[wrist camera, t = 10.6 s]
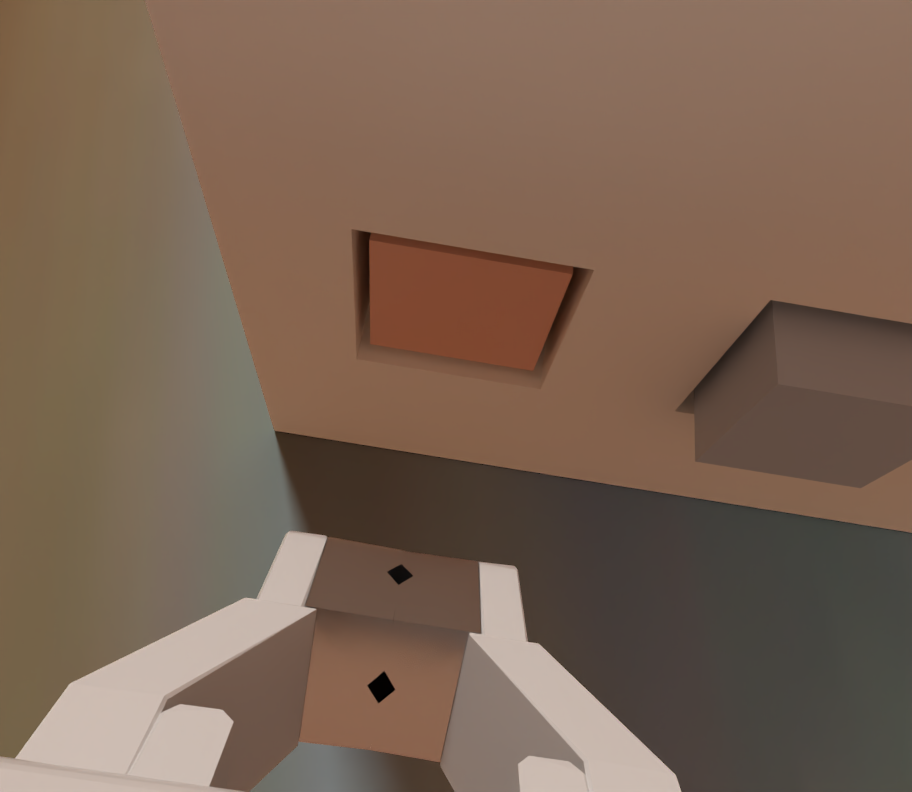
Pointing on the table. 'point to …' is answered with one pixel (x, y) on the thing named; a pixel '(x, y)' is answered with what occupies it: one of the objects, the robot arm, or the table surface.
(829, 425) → the button grey
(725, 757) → the table surface
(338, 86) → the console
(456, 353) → the button terracotta
